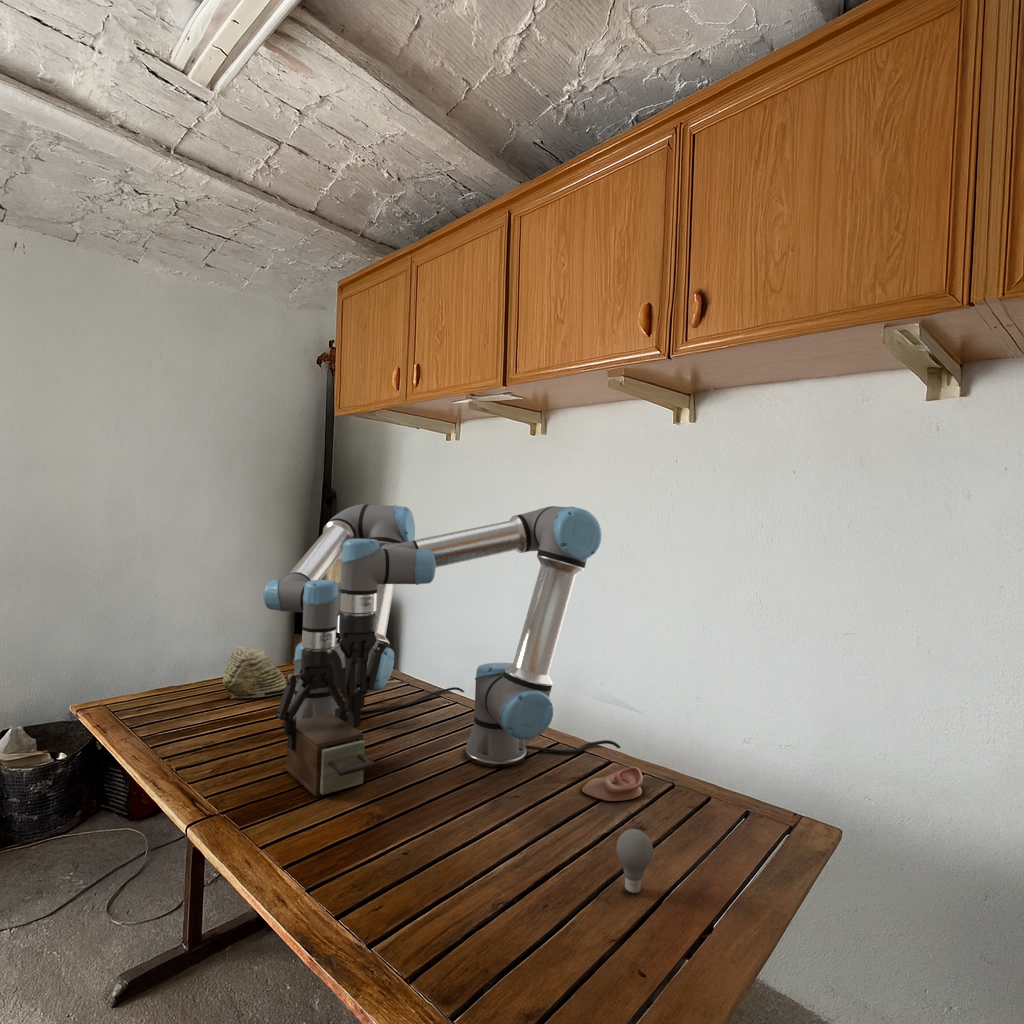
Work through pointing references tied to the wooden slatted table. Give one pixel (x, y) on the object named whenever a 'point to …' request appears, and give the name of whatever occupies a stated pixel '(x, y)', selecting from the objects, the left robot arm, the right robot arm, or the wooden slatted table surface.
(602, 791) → the anatomical model
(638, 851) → the light bulb
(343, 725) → the cabinet
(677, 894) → the wooden slatted table surface
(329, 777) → the drawer
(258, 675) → the fossil
